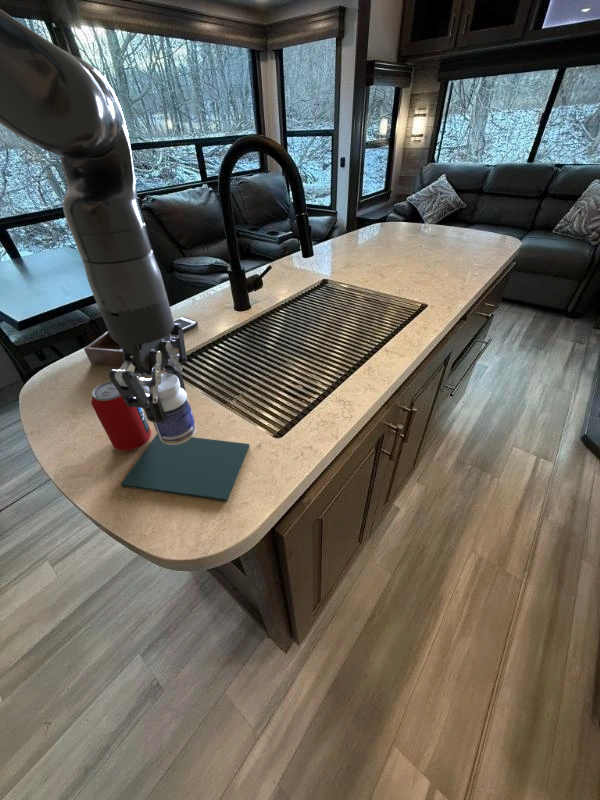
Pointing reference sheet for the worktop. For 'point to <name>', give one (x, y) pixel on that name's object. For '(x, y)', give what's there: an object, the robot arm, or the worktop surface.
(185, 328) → the cell phone
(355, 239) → the worktop surface
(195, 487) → the mat
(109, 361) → the divided tray
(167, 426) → the pill bottle
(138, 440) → the beverage can
